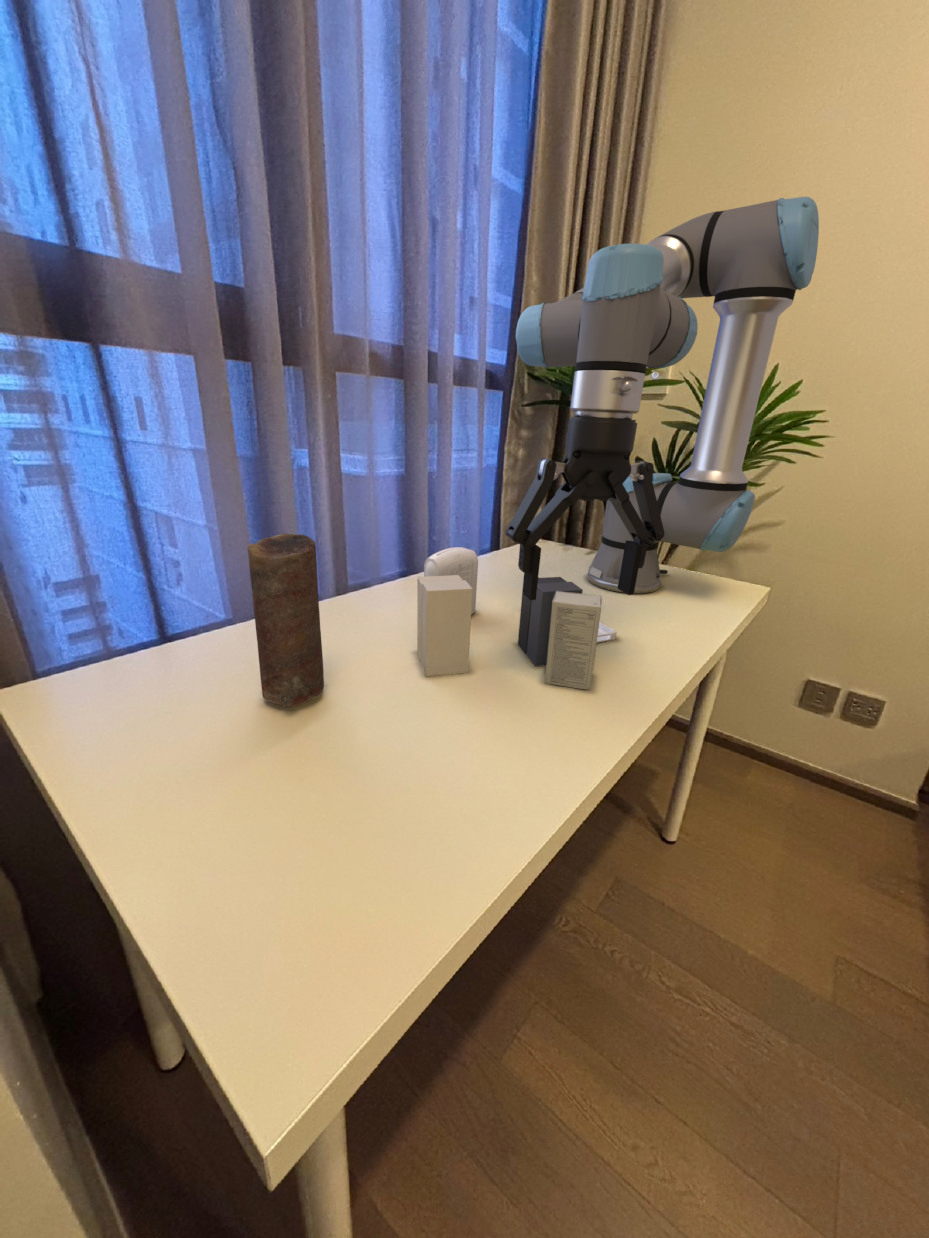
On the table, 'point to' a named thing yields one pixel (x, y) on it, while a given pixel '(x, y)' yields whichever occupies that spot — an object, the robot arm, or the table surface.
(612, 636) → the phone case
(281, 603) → the candle
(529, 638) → the dark grey upright block
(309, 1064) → the table surface
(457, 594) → the white rectangular block
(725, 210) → the robot arm
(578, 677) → the cosmetic box
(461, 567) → the photo printer
